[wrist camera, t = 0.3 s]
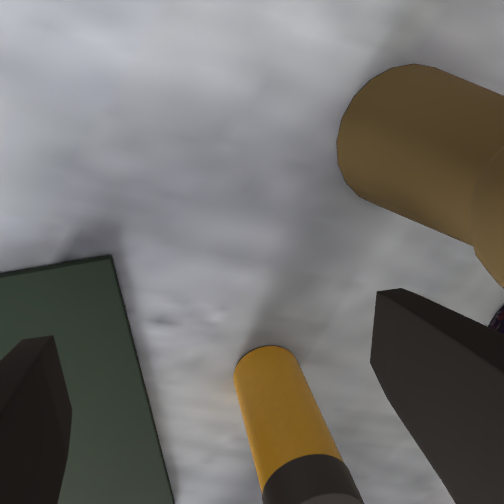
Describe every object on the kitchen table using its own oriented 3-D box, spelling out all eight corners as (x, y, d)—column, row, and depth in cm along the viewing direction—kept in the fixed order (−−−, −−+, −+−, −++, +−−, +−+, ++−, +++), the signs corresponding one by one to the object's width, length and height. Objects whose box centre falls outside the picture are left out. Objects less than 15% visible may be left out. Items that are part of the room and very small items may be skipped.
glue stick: (300, 391, 25) (367, 546, 18) (236, 405, 25) (276, 571, 17) (297, 338, 24) (368, 482, 16) (228, 352, 23) (268, 508, 16)
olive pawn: (308, 159, 20) (467, 284, 10) (403, 30, 18) (697, 29, 9) (403, 229, 22) (606, 385, 12) (493, 120, 21) (804, 200, 11)
